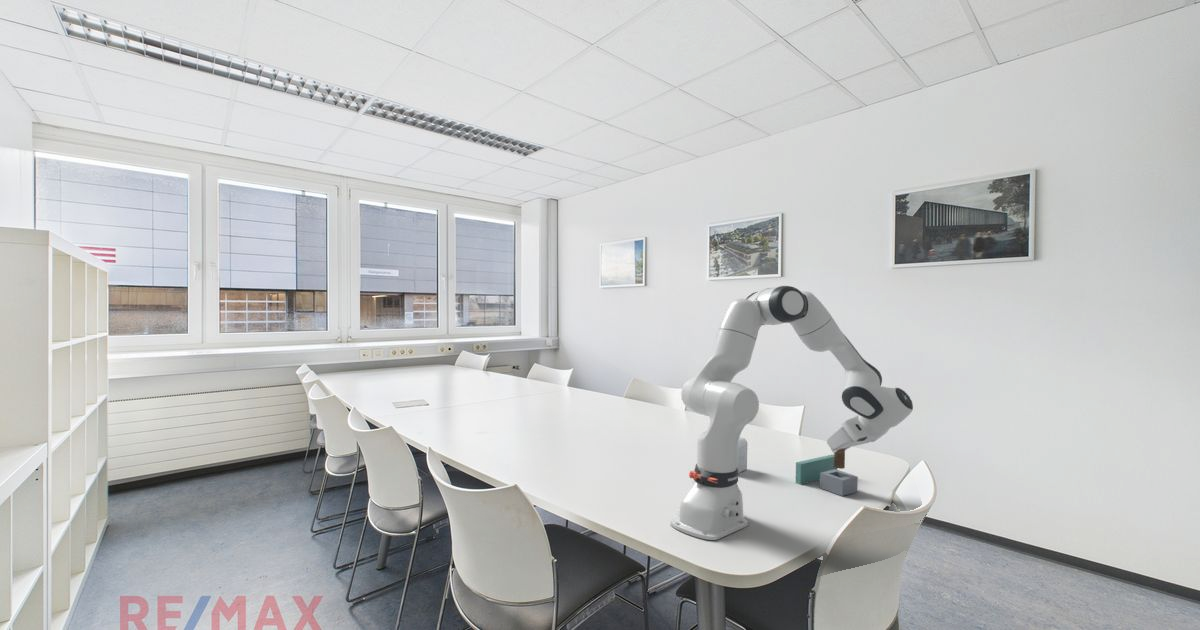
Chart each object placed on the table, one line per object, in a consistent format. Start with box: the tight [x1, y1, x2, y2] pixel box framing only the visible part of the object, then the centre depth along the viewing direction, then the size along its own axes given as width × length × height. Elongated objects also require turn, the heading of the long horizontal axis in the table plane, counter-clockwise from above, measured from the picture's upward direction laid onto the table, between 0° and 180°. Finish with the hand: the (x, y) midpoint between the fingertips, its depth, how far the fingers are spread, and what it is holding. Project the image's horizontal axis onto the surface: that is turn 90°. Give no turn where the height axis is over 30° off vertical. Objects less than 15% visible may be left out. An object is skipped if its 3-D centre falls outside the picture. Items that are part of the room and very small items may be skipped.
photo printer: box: [737, 436, 748, 473], centre depth 173 cm, size 10×4×12 cm, turn 134°
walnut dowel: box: [833, 448, 846, 470], centre depth 156 cm, size 3×3×10 cm
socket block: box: [819, 469, 859, 497], centre depth 156 cm, size 8×8×5 cm
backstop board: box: [795, 453, 838, 485], centre depth 166 cm, size 2×20×7 cm, turn 119°
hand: (837, 449), depth 156 cm, fingers closed on walnut dowel, 3 cm apart
